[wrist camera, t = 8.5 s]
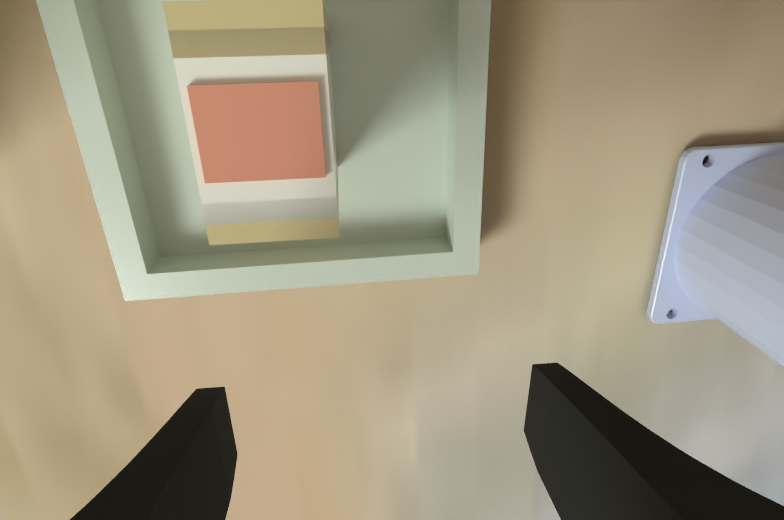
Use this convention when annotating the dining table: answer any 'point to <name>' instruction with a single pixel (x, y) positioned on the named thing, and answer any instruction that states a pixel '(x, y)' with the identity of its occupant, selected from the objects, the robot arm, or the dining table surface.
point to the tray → (353, 138)
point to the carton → (258, 116)
